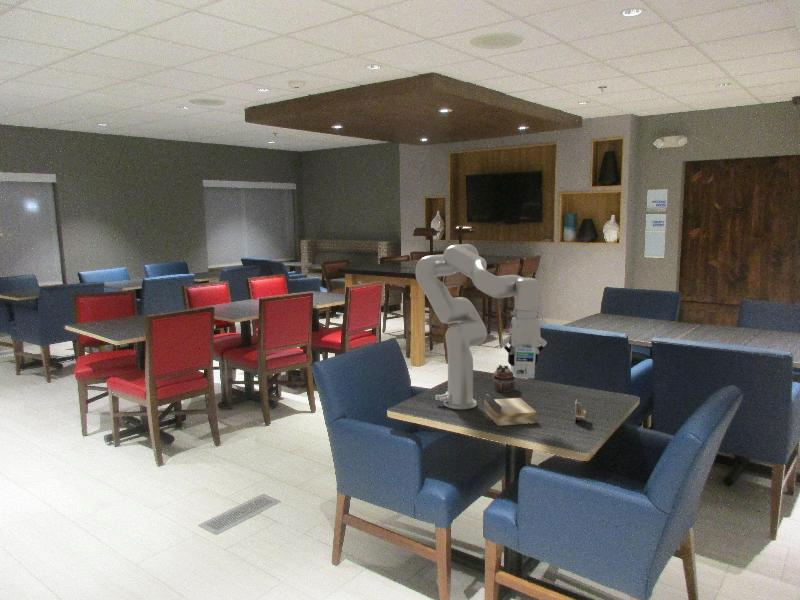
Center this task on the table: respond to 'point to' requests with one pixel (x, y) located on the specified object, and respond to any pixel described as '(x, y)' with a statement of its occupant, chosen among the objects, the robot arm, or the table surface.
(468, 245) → the robot arm
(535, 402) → the table surface
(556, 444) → the table surface
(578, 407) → the architectural model
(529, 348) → the light bulb box
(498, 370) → the cupcake
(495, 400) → the beige flat block
